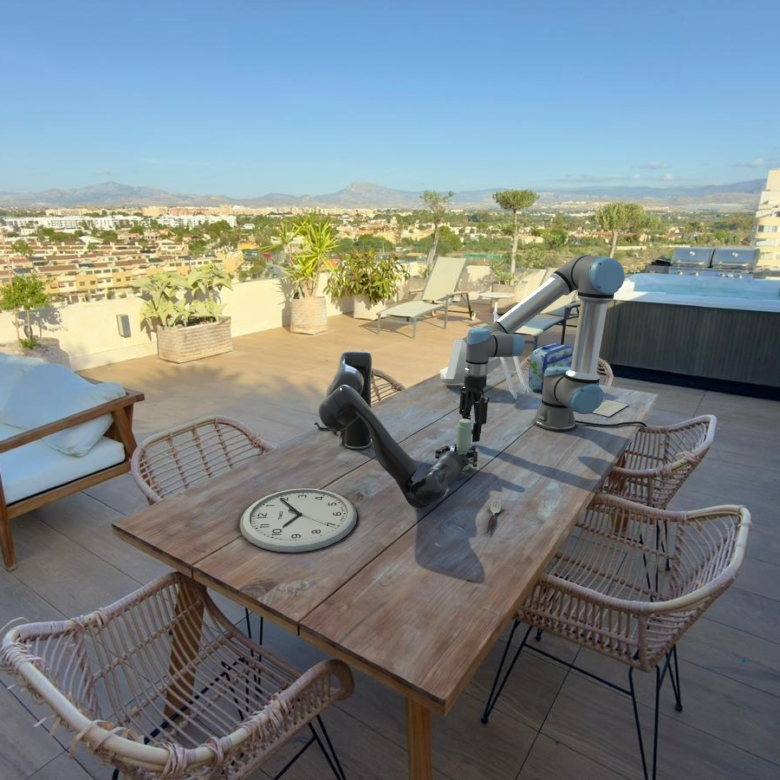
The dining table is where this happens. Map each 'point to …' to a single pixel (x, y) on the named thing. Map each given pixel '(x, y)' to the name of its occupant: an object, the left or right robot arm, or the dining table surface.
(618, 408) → the invitation card
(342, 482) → the dining table surface
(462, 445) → the bottle
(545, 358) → the lunch box
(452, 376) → the white plastic object
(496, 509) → the fork
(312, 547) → the wall clock
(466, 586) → the dining table surface
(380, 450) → the left robot arm
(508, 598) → the dining table surface
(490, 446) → the dining table surface
